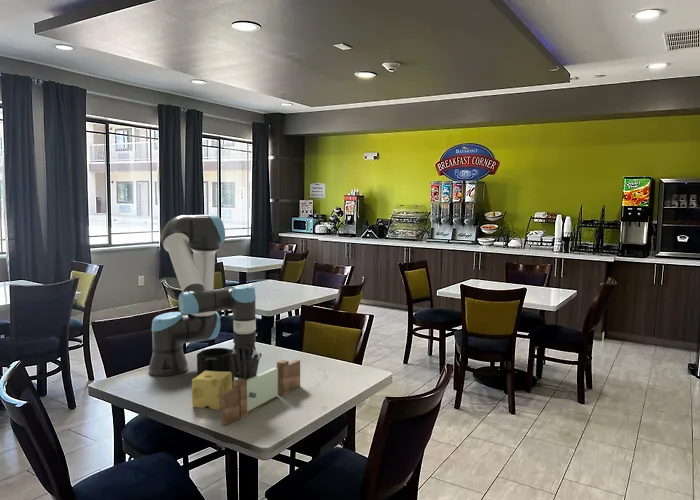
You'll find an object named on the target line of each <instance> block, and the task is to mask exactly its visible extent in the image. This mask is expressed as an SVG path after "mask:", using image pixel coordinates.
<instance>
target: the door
mask: <svg viewBox="0 0 700 500" xmlns="http://www.w3.org/2000/svg"><path fill="white" fill-rule="evenodd" d="M276 396H278V397H279V395H278V367H277V366H276V367H272V368H270V369H268V370H266V371H264V372H262V373H259V374H256V376H254V377H252V378H250V379H248V380H247V412H248V411H250V410H251V409H253V408H255V407H257V406H259V405H261V404H263V403H265V402H267V401H268V400H270V399H272V398H274V397H276Z"/></svg>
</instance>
